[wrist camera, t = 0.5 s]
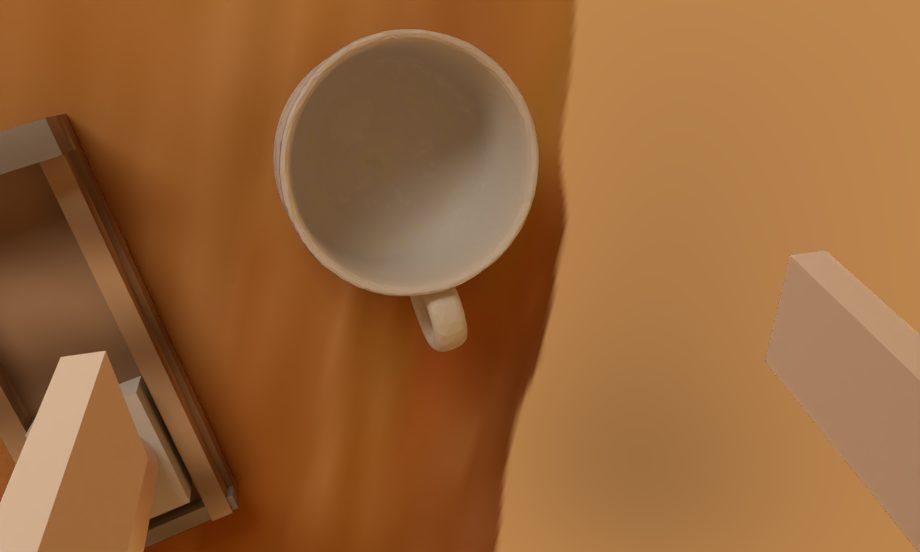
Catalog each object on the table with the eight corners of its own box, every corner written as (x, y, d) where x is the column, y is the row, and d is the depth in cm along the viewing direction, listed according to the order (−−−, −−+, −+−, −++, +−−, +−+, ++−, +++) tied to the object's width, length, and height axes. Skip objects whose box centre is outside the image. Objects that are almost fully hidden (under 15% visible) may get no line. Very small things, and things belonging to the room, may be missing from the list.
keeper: (36, 415, 34) (-109, 664, 20) (141, 375, 35) (77, 585, 21) (94, 520, 36) (1, 820, 22) (191, 480, 37) (167, 741, 22)
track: (-129, 173, 32) (-177, 185, 28) (65, 114, 33) (45, 117, 29) (83, 550, 38) (67, 601, 34) (238, 486, 39) (238, 528, 36)
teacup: (258, 40, 35) (266, 28, 27) (482, 38, 38) (545, 26, 30) (284, 328, 38) (297, 387, 31) (487, 305, 41) (544, 354, 34)
